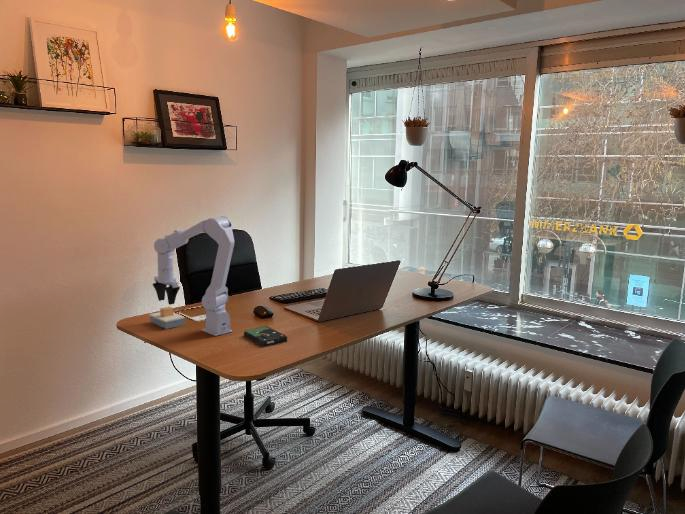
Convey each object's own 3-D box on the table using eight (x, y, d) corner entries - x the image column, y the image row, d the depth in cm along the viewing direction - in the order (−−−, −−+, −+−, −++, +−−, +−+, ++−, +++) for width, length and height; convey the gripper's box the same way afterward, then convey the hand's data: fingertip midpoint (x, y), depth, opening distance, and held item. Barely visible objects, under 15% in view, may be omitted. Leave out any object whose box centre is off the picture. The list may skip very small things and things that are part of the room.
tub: (184, 325, 212) (184, 318, 212) (165, 329, 206) (165, 322, 206) (168, 319, 220) (168, 311, 220) (150, 322, 214) (150, 315, 214)
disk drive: (287, 343, 197) (266, 332, 208) (288, 336, 197) (266, 325, 208) (263, 348, 191) (242, 337, 202) (263, 341, 190) (242, 330, 201)
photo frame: (196, 320, 218) (174, 310, 230) (196, 322, 218) (174, 313, 230) (227, 313, 228) (204, 305, 240) (227, 316, 228) (204, 307, 240)
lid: (184, 318, 212) (184, 309, 211) (165, 322, 206) (165, 313, 205) (168, 311, 220) (168, 303, 219) (149, 315, 214) (149, 306, 213)
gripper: (184, 270, 207) (185, 304, 210) (165, 264, 217) (166, 296, 219) (168, 272, 202) (169, 307, 205) (149, 266, 212) (150, 299, 214)
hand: (166, 302), depth 212 cm, fingers open, 7 cm apart
